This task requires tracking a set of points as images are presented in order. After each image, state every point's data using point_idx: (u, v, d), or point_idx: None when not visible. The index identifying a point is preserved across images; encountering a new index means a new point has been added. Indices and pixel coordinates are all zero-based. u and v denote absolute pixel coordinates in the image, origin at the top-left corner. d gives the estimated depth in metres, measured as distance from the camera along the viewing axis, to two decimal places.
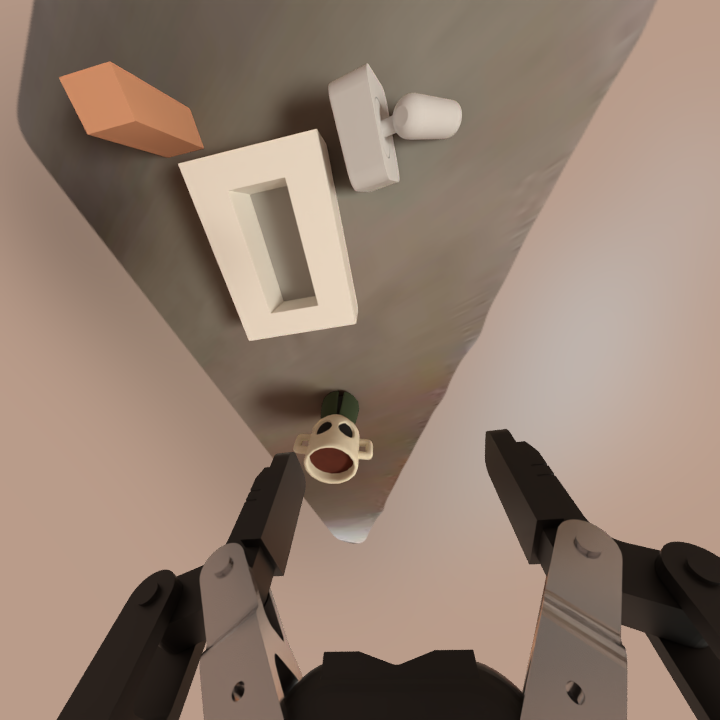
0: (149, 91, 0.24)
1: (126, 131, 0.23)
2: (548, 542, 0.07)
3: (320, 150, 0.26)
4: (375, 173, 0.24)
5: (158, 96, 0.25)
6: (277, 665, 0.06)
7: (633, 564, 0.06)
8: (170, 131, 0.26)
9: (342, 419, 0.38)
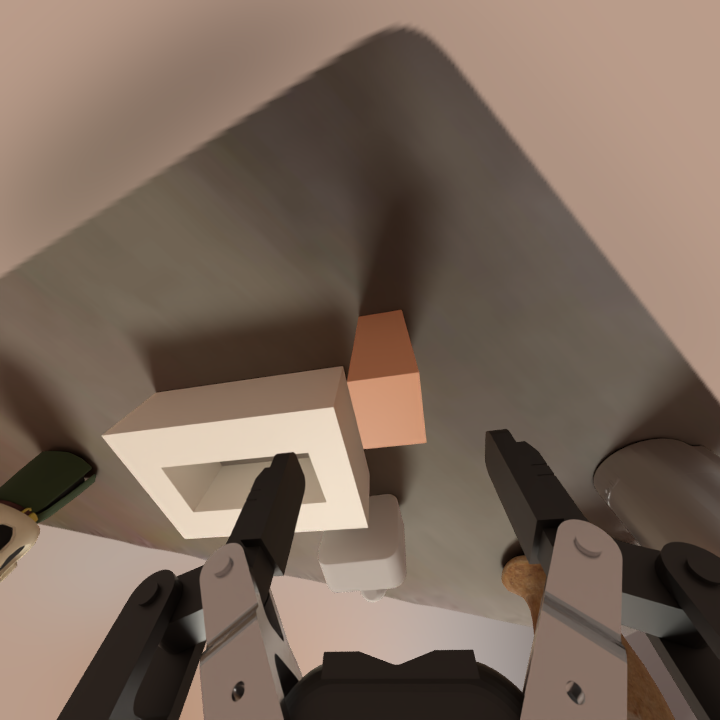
0: None
1: None
2: (548, 542, 0.07)
3: (351, 527, 0.26)
4: (328, 583, 0.26)
5: None
6: (277, 665, 0.06)
7: (633, 564, 0.06)
8: None
9: (30, 540, 0.26)
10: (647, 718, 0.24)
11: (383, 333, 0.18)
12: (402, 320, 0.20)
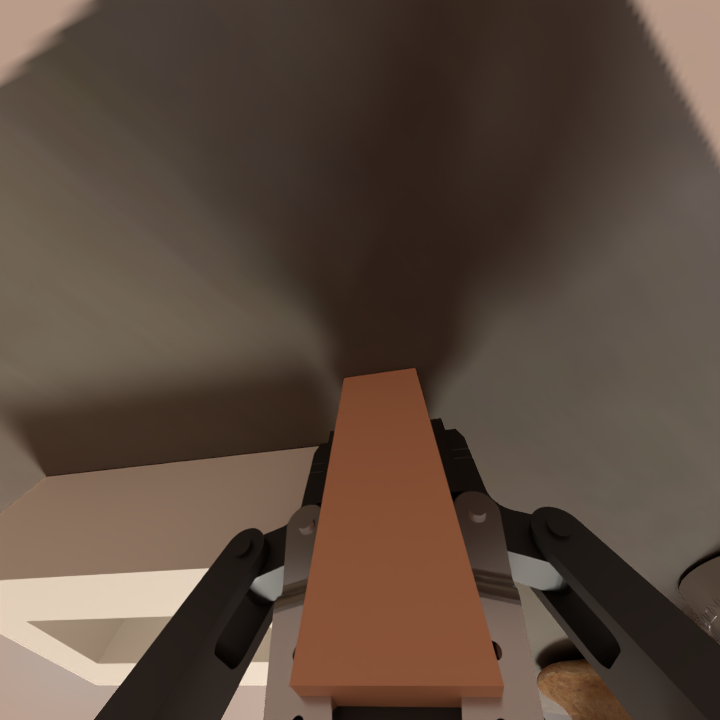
0: None
1: None
2: None
3: None
4: None
5: None
6: None
7: (513, 527, 0.08)
8: None
9: None
10: None
11: (387, 438, 0.09)
12: (420, 399, 0.11)
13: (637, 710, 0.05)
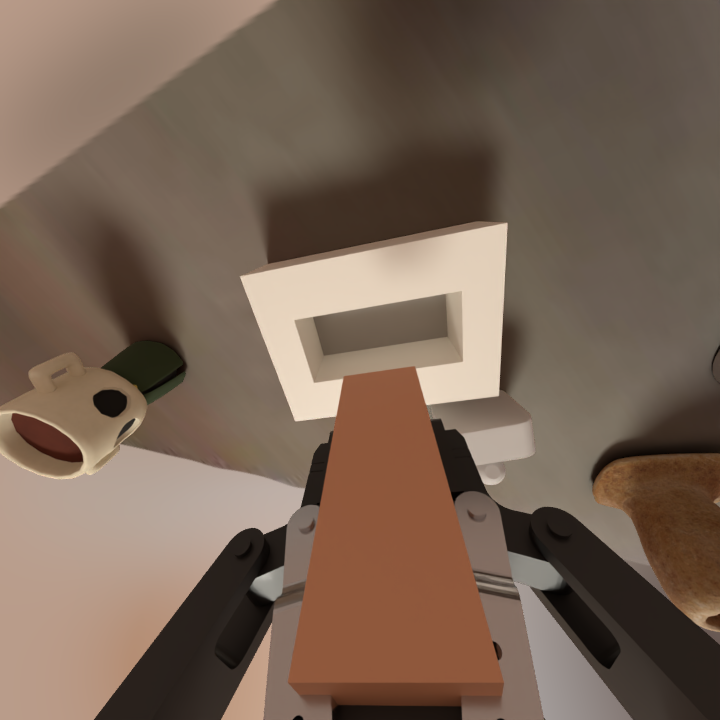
0: None
1: None
2: None
3: (479, 397, 0.24)
4: None
5: None
6: None
7: (513, 526, 0.08)
8: None
9: (140, 415, 0.25)
10: None
11: (387, 436, 0.09)
12: (420, 397, 0.11)
13: (637, 710, 0.05)
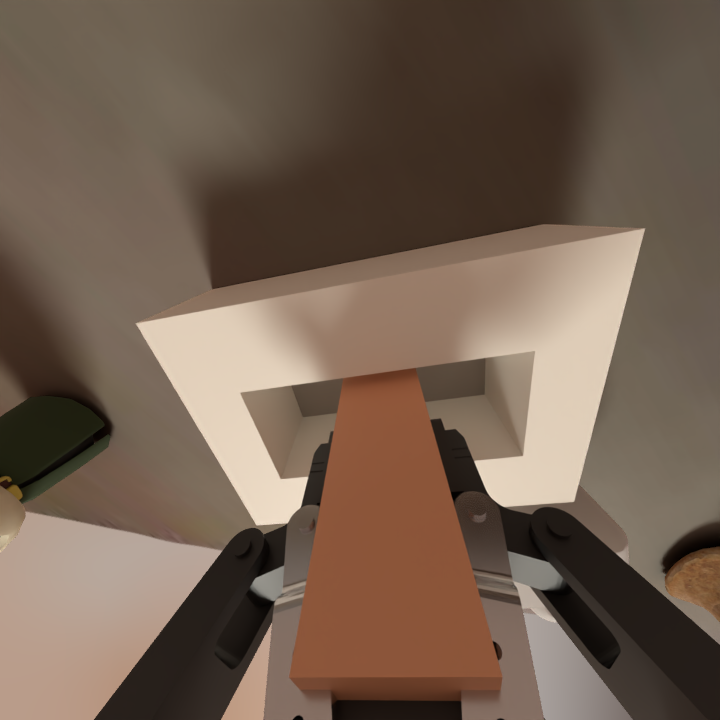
0: None
1: None
2: None
3: None
4: None
5: None
6: None
7: (513, 526, 0.08)
8: None
9: (9, 528, 0.16)
10: None
11: (387, 435, 0.09)
12: (419, 396, 0.11)
13: (637, 710, 0.05)
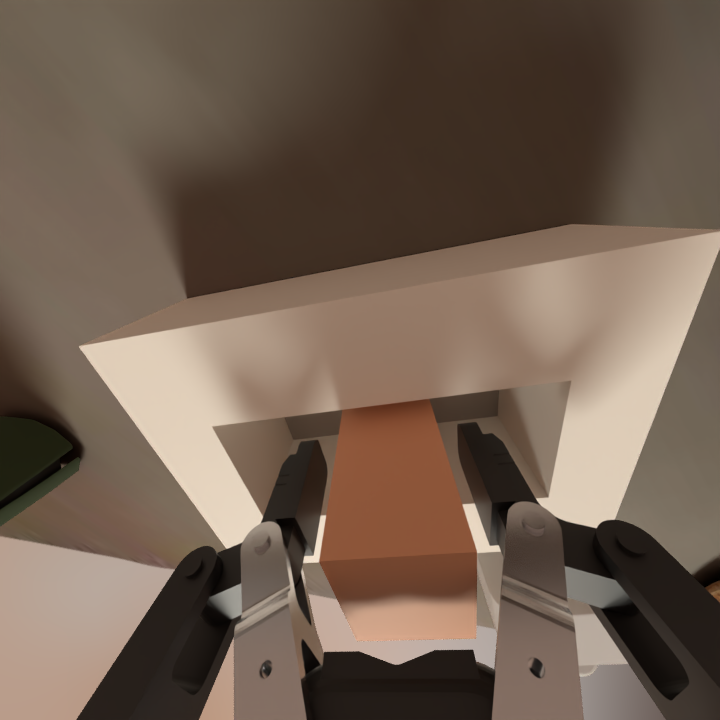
0: None
1: None
2: (502, 523, 0.08)
3: None
4: None
5: None
6: (303, 649, 0.06)
7: (574, 541, 0.07)
8: None
9: None
10: None
11: None
12: None
13: None
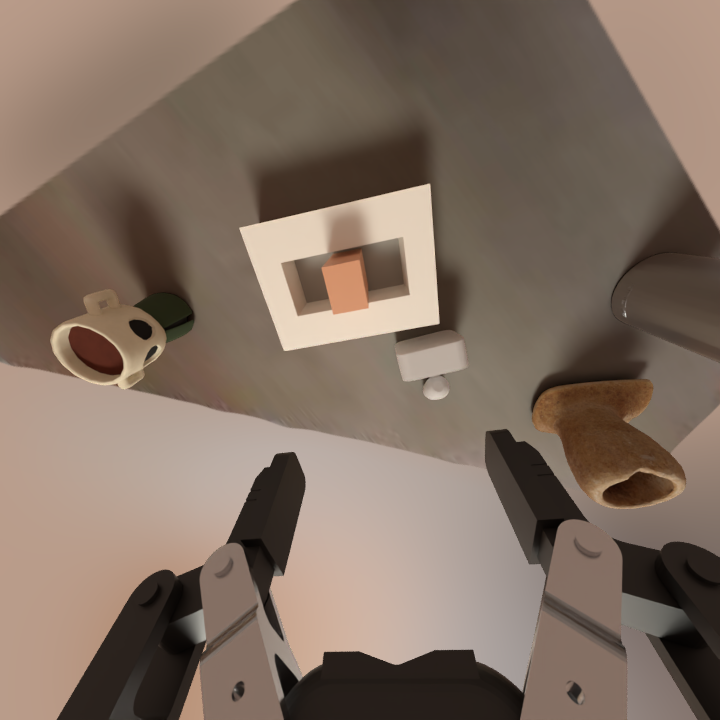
0: None
1: None
2: (548, 542, 0.07)
3: (425, 325, 0.32)
4: (407, 373, 0.32)
5: None
6: (277, 665, 0.06)
7: (633, 564, 0.06)
8: None
9: (162, 344, 0.32)
10: (659, 457, 0.31)
11: (346, 255, 0.29)
12: (359, 250, 0.31)
13: None
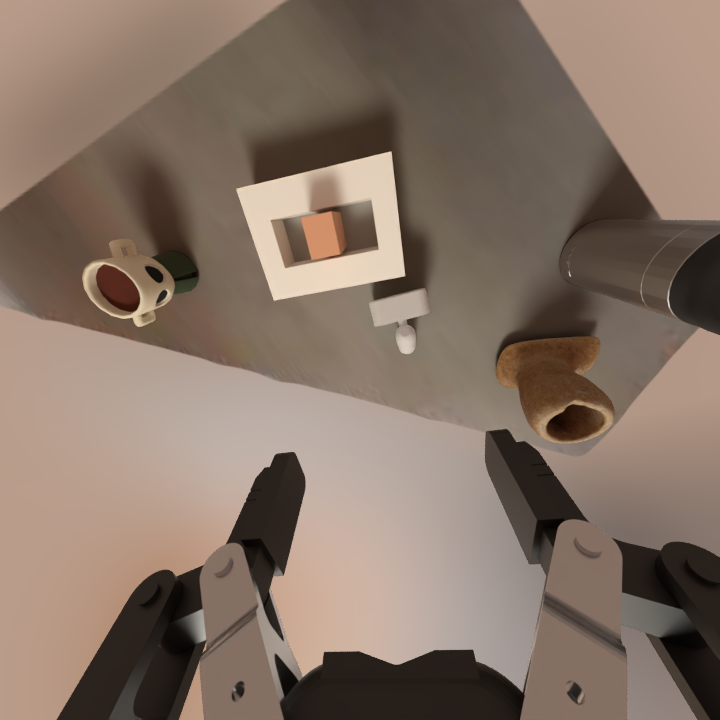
0: None
1: None
2: (548, 542, 0.07)
3: (393, 277, 0.37)
4: (377, 319, 0.38)
5: None
6: (277, 665, 0.06)
7: (633, 564, 0.06)
8: None
9: (171, 290, 0.38)
10: (591, 392, 0.36)
11: None
12: (337, 212, 0.36)
13: None
